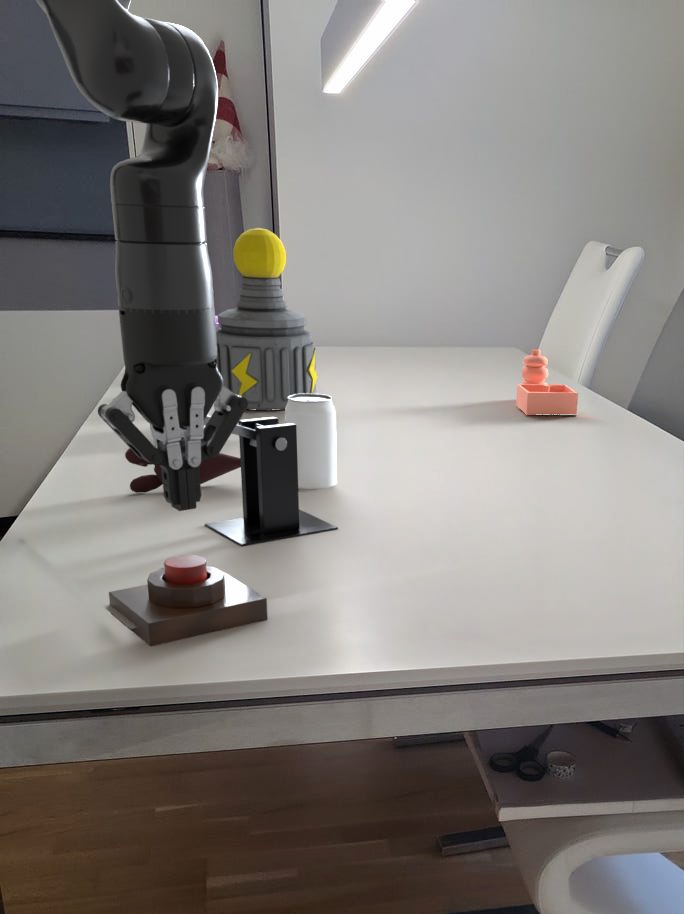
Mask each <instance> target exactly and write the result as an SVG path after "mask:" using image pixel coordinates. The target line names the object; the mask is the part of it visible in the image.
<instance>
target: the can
mask: <svg viewBox="0 0 684 914" xmlns="http://www.w3.org/2000/svg"><path fill="white" fill-rule="evenodd" d="M336 410H337V409H336V407H335V405H334V403H333V397H332V396H331V395H328V394H323V393H322V394H321V393H316V394H294V395H290V396H288V403H287V405H286V408H285V410H284V424H288V423H293V424H296V428H297V461H298V489H306V490H307V489H308V490H317V489H326V488H327V489H328V488H331V487H334V486H336V485H337V484H338V458H337V457H338V456H337V455H338V454H337V453H338V451H337V450H338V449H337V447H338V445H337V411H336Z"/></svg>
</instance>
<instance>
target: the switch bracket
mask: <svg viewBox="0 0 684 914" xmlns="http://www.w3.org/2000/svg"><path fill="white" fill-rule="evenodd" d="M255 423H257V424H260V425H263V426H260V427H256V446H257V447H254V446H252V445H250V440H251V439H250V438H246V437H243V436H239V435H238V439H239V441H238V442H239V458H240V461H241V467H240V475H241V476H240V477H241V479H240V481H241V497H242V498H241V499H242V516H243V517H238V518H233V519H226V520H220V521H213V522H207V523H204V527H206V528H208V529H210V530H211V531H213V532H215V533H217V534H218V535H220V536H221V537H224V538H226V539H227V540H229V541H231V542H233V543H234V544H236V545H238V546H239V547H246V546H252V545H258V544H263V543H269V542H274V541H281V540H285V539H291V538H297V537H302V536H308V535H313V534H319V533H325V532H331V531H335V530H336V531H337V530H339V527H338V526H336V525H334V524H332V523H329V522H327V521H326V520H323V519H321V518H320V517H317V516H315V515H312V514H310V513H308V512H306V511H304V510H302V509H300V501H299V500H300V499H299V496H300V495H299V488H298V461H297V428H296V424H293V423H288V424H285V423H281V424H279V418H278V417H275V416H268V417H267V416H266V417H259V418H257V417H256V418H247V419H240V420H239V422H238V423H237V424H238V425H240V426H244V427H247V428H250V429H253V430H254V426H255Z"/></svg>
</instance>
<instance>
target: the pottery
mask: <svg viewBox="0 0 684 914" xmlns="http://www.w3.org/2000/svg"><path fill="white" fill-rule="evenodd" d="M522 363H523V364H524V365H525V366H522V369H521V371H520V372H521V376H522V378H523V379H524V380H522V381H521V382H520V383H517V384H516V398H515V399H516V400H515V407H516V406H517V407H518V408H520V409H521V410H522V411H523V412H524V413H525V414H526V415H536V414H542V415H543V414H550V415H552V414H553V415H554V414H557V415H558V414H559V415H560V414H577V413H578V399H579V392H577V391H575V390H574V389H573V388H571V387H570V386H568V385H566V384H548V383H547V382H546V381H545V380H547V378H548V376H549V370H548V367H546V366H547V365H548V364H549V360H548V358H547V357H546V356H544V355H541V349H538V348H537V349H536V348H534V349H531V354H527V355H526V356H525V357H523V359H522ZM517 407H516V408H517ZM518 408H517V409H518ZM523 412H522V413H523ZM524 413H523V414H524ZM525 414H524V415H525ZM526 415H525V416H526Z"/></svg>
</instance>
